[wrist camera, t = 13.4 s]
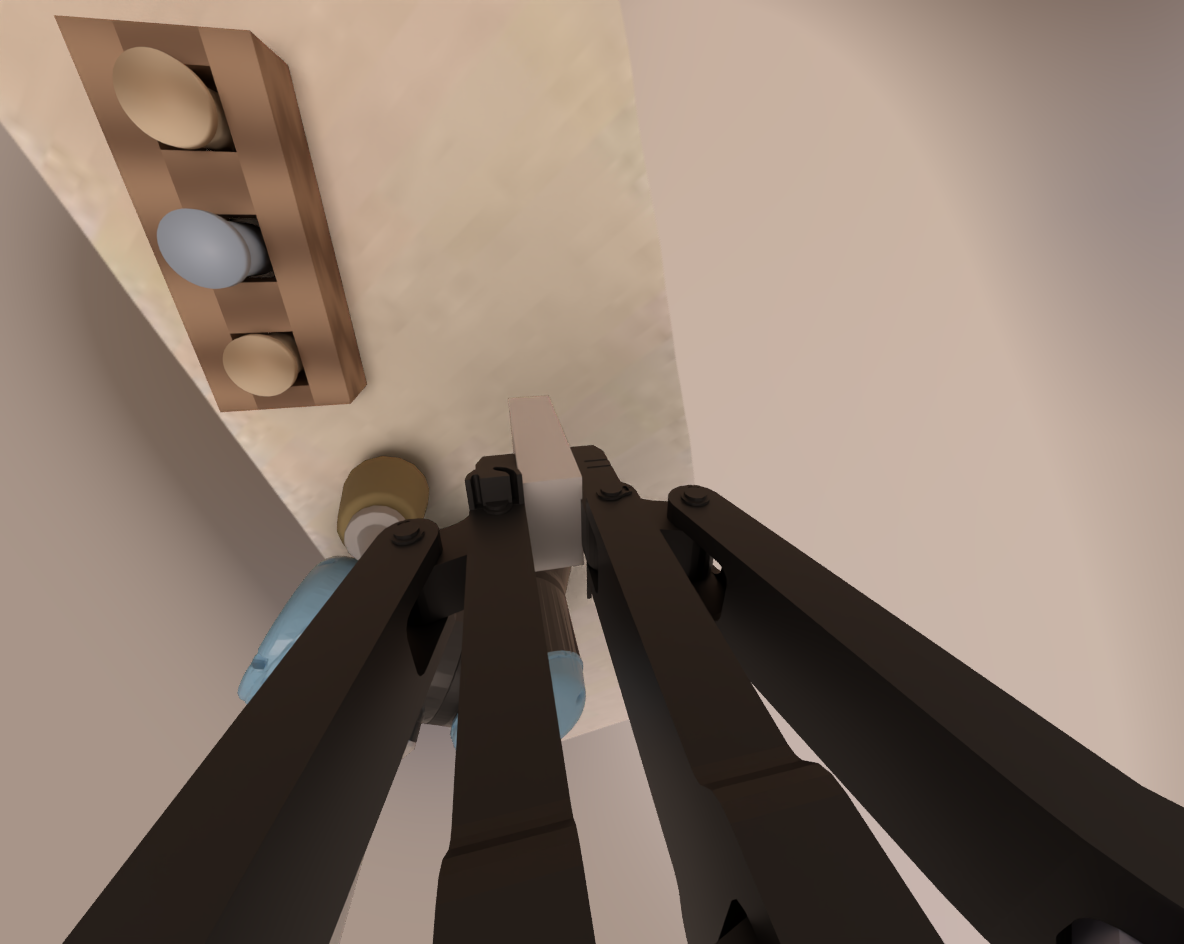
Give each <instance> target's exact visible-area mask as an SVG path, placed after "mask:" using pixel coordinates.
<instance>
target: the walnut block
mask: <svg viewBox="0 0 1184 944" xmlns="http://www.w3.org/2000/svg"><path fill="white" fill-rule="evenodd" d="M54 16H55V19H56V21H57V24H58V26H59V28H60V31H61V33H62V36H63V38H64V40H65V43H66V45H67V47H68V50H69V52H70V55H71V57H72V59H73V62H74V64H75V66H76V69H77V71H78V74H79V76H80V78H81V81H82V83H83V86H84V88H85V90H86V93H87V95H88V97H89V100H90V102H91V105H92V107H93V109H94V112H95V114H96V117H97V119H98V121H99V124H100V126H101V128H102V131H103V133H104V136H105V138H106V140H107V143H108V145H109V148H110V150H111V152H112V155H113V157H114V159H115V162H116V164H117V167H118V169H119V171H120V174H121V176H122V178H123V181H124V183H125V186H126V188H127V190H128V193H129V195H130V198H131V200H132V202H133V205H134V207H135V209H136V212H137V214H138V217H139V219H140V221H141V224H142V226H143V229H144V231H145V233H146V236H147V238H148V240H149V243H150V245H151V248H152V250H153V252H154V255H155V257H156V259H157V262H158V264H159V267H160V269H161V271H162V274H163V276H164V279H165V281H166V283H167V286H168V288H169V290H170V293H171V295H172V298H173V300H174V302H175V305H176V307H177V310H178V312H179V314H180V317H181V319H182V321H183V324H184V326H185V329H186V331H187V333H188V336H189V338H190V340H191V343H192V345H193V348H194V350H195V352H196V355H197V357H198V360H199V362H200V364H201V367H202V369H203V371H204V374H205V376H206V379H207V381H208V383H209V386H210V388H211V391H212V393H213V395H214V398H215V400H216V402H217V405H218V407H219V410H220V412H231V411H246V410H261V409H276V408H292V407H307V406H322V405H337V404H351V403H352V402H353V400H354V399H355V398H356V397H357V396H358V394H359V393H360V392H361V391H362V390H363V389H364V387H365V386H366V385H367V382H366V378H365V374H364V370H363V366H362V362H361V358H360V354H359V350H358V346H357V342H356V338H355V334H354V330H353V326H352V322H351V318H350V314H349V310H348V306H347V302H346V298H345V294H344V290H343V286H342V281H341V277H340V273H339V269H338V265H337V261H336V257H335V253H334V249H333V245H332V241H331V237H330V233H329V229H328V225H327V221H326V217H325V213H324V209H323V205H322V201H321V197H320V193H319V189H318V185H317V181H316V177H315V173H314V168H313V164H312V160H311V156H310V152H309V148H308V144H307V140H306V136H305V132H304V128H303V124H302V120H301V116H300V112H299V108H298V104H297V100H296V96H295V92H294V88H293V84H292V80H291V76H290V72H289V68H288V65H287V64H286V63H285V62H284V61H283V60H282V59H281V58H279V57H278V56H277V55H276V54H275V53H274V52H273V51H272V50H271V49H269V48H268V47H267V46H266V45H265V44H264V43H263V42H262V41H261V40H260V39H258V38H257V37H256V36H255V35H254V34H253V33H252V32H251V31H248V30H235V29H223V28H210V27H197V26H184V25H171V24H159V23H146V22H133V21H120V20H107V19H95V18H82V17H69V16H56V15H54ZM134 47H148V48H153V49H156V50H159V51H161V52H164V53H166V54H168V55H169V56H171V57H173V58H174V59H176V60H178V61H179V62H181V63H183V64H184V65H186V66H187V67H188V68H189V69H191V70H192V71H193V72H194V73H195V74H196V75H197V76H198V77H199V78H200V79H201V80H202V82H203V83H204V84H205V86H206V87H208V88H209V89H211V90H213V91H215V92H218V93H219V97H220V100H221V103H222V106H223V110H224V113H225V116H226V119H227V122H228V126H229V129H230V132H231V135H232V138H233V142H234V145H235V148H236V151H237V152H213V151H206V149H205V148H204V147H201V148H198V149H182V148H177V147H174V146H171V145H168V144H165V143H162V142H160V141H158V140H156V139H154V138H152V137H151V136H149V135H148V134H146V133H145V132H143V131H142V130H141V129H140V128H139V127H138V126H137V125H136V124H135V123H134V122H133V121H132V120H131V119H130V118H129V117H128V115H127V114H126V112H125V111H124V110H123V108H122V106H121V104H120V102H119V100H118V98H117V96H116V93H115V90H114V85H113V68H114V64H115V62H116V60H117V58H118V57H119V56H120V55H121V54H122V53H123V52H124V51H126V50H128V49H131V48H134ZM177 209H197V210H203V211H208V212H211V213H214V214H216V215H218V216H220V217H222V218H223V219H225V220H226V221H230V220H229V218H254V219H258V222H259V225H260V229H261V232H262V235H263V238H264V241H265V245H266V248H267V251H268V254H269V257H270V261H271V264H272V267H273V270H274V274H275V277H262V278H249V276H247V277H246V278H245V279H244V280H243V281H242V282H241V283H239V284H237V285H235V286H231V287H226V288H220V289H210V288H205V287H201V286H198V285H195V284H193V283H191V282H189V281H187V280H186V279H184V278H183V277H181V276H180V275H179V274H177V273H176V272H175V271H174V270H173V269H172V268H171V267H170V266H169V264H168V263H167V262H166V260H165V259H164V257H163V255H162V253H161V251H160V249H159V246H158V241H157V229H158V225H159V223H160V221H161V220H162V218H163V217H164V216H165V215H166V214H168V213H169V212H171V211H174V210H177ZM287 331H293V335H294V338H295V341H296V344H297V348H298V351H299V354H300V357H301V360H302V364H303V367H304V369H303V370H302V371H300V372H299V373H298V376H297V379H296V381H295V383H294V384H293V385H292V386H291V387H290V388H288V389H287V390H286V391H284V392H283V393H281V394H278V395H275V396H259V395H255V394H251V393H249V392H247V391H245V390H243V389H242V388H240V387H239V386H237V385H236V384H235V383H234V382H233V381H232V380H231V379H230V377H229V376H228V374H227V373H226V371H225V368H224V365H223V353H224V350H225V348H226V346H227V345H228V344H229V343H230V342H231V341H233V340H235V339H237V338H240V337H242V336H245V335H249V334H262V335H267V334H268V333H267V332H287Z"/></svg>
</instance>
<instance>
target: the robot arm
mask: <svg viewBox="0 0 1184 944" xmlns="http://www.w3.org/2000/svg"><path fill="white" fill-rule="evenodd" d="M508 402H509V412H510V422H511V432H512V442H513V453H514V454H505V455H495V456H484V457H482V458H481V459H480V460H479V462H478V463H477V464H476V469H475V470H473V471H472V472H471V473H469V474H468V475H467V476H466V478H465V485H466V491H467V498H468V504H469V510H470V511H469V516H468V517H467V518H466V519H464V520H463V521H461V522H459V523H457V524H455V525H452V526H450V527H446V528H443V529H440V530H439V528H438V526H437V524H436V523H434V522H433V521H431V520H428V519H421V518H417V519H406V520H404V521H399V522H396V523H394V524H392V525H390V526H389V527H387V528H385V529H384V530H383V531H382V532H381V533H380V534H378V536H377V537H376V538H375V539H374V541H373V542H372V543H371V545H370V546H369V547H368V549H367V550H366V551H365V552H364V554H363V555H362V556H361V558H360V559H359V560H357V559H355V558H351V557H347V556H333V557H330V558H327V559H325V560H323V561H322V562H320V563H319V564H317V565H316V566H315V567H314V568H313V569H312V570H311V571H310V573H309V574H308V575H307V576H306V577H305V579H304V580H303V581H302V582H301V584H300V585H299V587H298V588H297V589H296V591H295V592H294V593H293V595H292V596H291V598H290V599H289V601H288V602H287V604H286V605H285V607H284V608H283V610H282V611H281V613H280V614H279V616H278V617H277V619H276V620H275V622H274V623H273V625H272V627H271V628H270V630H269V632H268V633H267V635H266V636H265V638H264V640H263V642H262V643H261V645H260V647H259V649H258V653H257V655H255V657H254V659H253V661H252V663H251V665H250V666H249V667H248V669H247V670H246V672H245V674H244V676H243V678H242V680H241V683H240V685H239V688H238V696H239V698H240V699H241V700H243V701H245V703H246V704H247V705H246V707H245V708H244V709H243V710H242V712H241V713H240V714H239V716H238V717H237V718H236V719H235V721H234V722H233V723H232V725H231V726H230V727H229V728H228V730H227V731H226V732H225V734H224V735H223V737H222V738H221V739H220V740H219V741H218V743H217V744H216V745H215V747H214V748H213V749H212V750H211V752H210V753H209V754H208V756H207V757H206V758H205V760H204V761H203V762H202V763H201V765H200V766H199V767H198V769H197V770H196V771H195V773H194V774H193V775H192V776H191V778H190V779H189V780H188V782H187V783H186V784H185V785H184V787H183V788H182V789H181V791H180V792H179V793H178V795H177V796H176V797H175V798H174V800H173V801H172V802H171V804H170V805H169V806H168V807H167V809H166V810H165V811H164V813H163V814H162V815H161V817H160V818H159V819H158V820H157V822H156V823H155V824H154V826H153V827H152V828H151V830H150V831H149V832H148V833H147V835H146V836H145V837H144V838H143V840H142V841H141V842H140V844H139V845H138V846H137V848H136V849H135V850H134V851H133V853H132V854H131V855H130V857H129V858H128V860H127V861H126V862H125V863H124V864H123V866H122V867H121V868H120V870H119V871H118V872H117V873H116V875H115V876H114V877H113V879H112V880H111V881H110V882H109V884H108V885H107V886H106V888H105V889H104V890H103V892H102V893H101V894H100V895H99V897H98V898H97V899H96V901H95V902H94V903H93V904H92V906H91V907H90V908H89V910H88V911H87V912H86V914H85V915H84V916H83V917H82V919H81V920H80V921H79V923H78V924H77V925H76V926H75V928H74V929H73V930H72V932H71V933H70V934H69V936H68V937H67V938H66V939H65V941H64V942H63V944H340V940H341V937H342V933H343V929H344V925H345V922H346V919H347V915H348V911H349V908H350V904H351V900H352V897H353V893H354V890H355V886H356V883H357V879H358V875H359V872H360V868H361V865H362V861H363V857H364V854H365V851H366V849H367V846H368V843H369V840H370V838H371V836H372V833H373V831H374V828H375V826H376V823H377V820H378V818H379V815H380V812H381V810H382V808H383V805H384V803H385V800H386V798H387V795H388V792H389V790H390V787H391V785H392V782H393V780H394V777H395V774H396V772H397V769H398V767H399V764H400V762H401V760H402V759H403V758H404V757H405V756H407V755H408V754H409V753H410V752H411V751H412V750H414V749H415V746H416V742H417V737H418V734H419V730H420V726H421V724H422V723H424V724H432V725H440V726H446V727H451V733H450V734H451V739H452V742H453V744H454V747H455V749H456V760H455V776H454V794H453V813H452V829H451V840H450V845H449V850H448V852H447V853H446V855H445V856H444V858H443V860H442V864H441V869H440V873H439V879H438V888H437V897H436V908H435V921H434V935H433V944H596V943H595V936H594V930H593V924H592V918H591V912H590V905H589V899H588V892H587V886H586V880H585V873H584V867H583V861H582V855H581V849H580V843H579V838H578V833H577V828H576V824H575V821H574V818H573V814H572V808H571V802H570V796H569V789H568V783H567V776H566V770H565V763H564V757H563V750H562V744H561V739H562V738H563V737H564V736H565V735H566V734H567V733H568V732H569V731H570V730H571V729H572V728H573V727H574V725H575V724H576V722H577V721H578V719H579V718H580V716H581V714H582V711H583V708H584V705H585V699H586V691H585V684H584V677H583V662H582V660H581V658H580V654H579V650H578V646H577V642H576V638H575V634H574V630H573V626H572V622H571V618H570V613H569V609H568V605H567V601H566V597H565V594H566V589H567V584H568V580H569V575H570V570H571V566H577V565H584V558H583V551H584V554H585V557H586V560H587V599H590V598H591V595H593V599H594V602H595V606H596V609H597V612H598V616H599V619H600V622H601V626H602V629H603V632H604V636H605V639H606V643H607V646H608V649H609V653H610V656H611V659H612V663H613V666H614V669H615V673H616V676H617V680H618V683H619V686H620V690H621V693H622V696H623V700H624V703H625V706H626V710H627V713H628V717H629V720H630V723H631V726H632V730H633V733H634V737H635V740H636V743H637V746H638V750H639V753H640V757H641V760H642V764H643V767H644V770H645V774H646V777H647V780H648V784H649V787H650V790H651V793H652V797H653V800H654V804H655V807H656V811H657V814H658V817H659V821H660V824H661V827H662V831H663V834H664V838H665V841H666V844H667V848H668V851H669V854H670V858H671V861H672V864H673V868H674V871H675V875H676V879H677V884H678V889H679V895H680V902H681V910H682V918H683V923H684V928H685V932H686V938H687V941H688V944H944V943H943V941H942V939H941V938H940V936H939V935H938V933H937V932H936V930H935V929H934V927H933V925H932V924H931V922H930V921H929V919H928V918H927V916H926V915H925V913H924V911H923V910H922V908H921V907H920V905H919V904H918V902H917V901H916V899H915V898H914V896H913V895H912V893H911V892H910V890H909V888H908V887H907V886H906V884H905V882H904V881H903V879H902V878H901V876H900V875H899V873H898V872H897V870H896V869H895V867H894V865H893V864H892V862H891V861H890V859H889V858H888V856H887V855H886V853H885V852H884V850H883V849H882V847H881V846H880V844H879V842H878V841H877V839H876V838H875V836H874V835H873V833H872V832H871V830H870V829H869V827H868V826H867V824H866V822H865V821H864V819H863V818H862V817H861V815H860V813H859V812H858V811H857V809H856V807H855V806H854V804H853V803H852V801H851V799H850V798H849V796H848V795H847V793H846V792H845V791H844V789H843V788H842V787H841V785H840V784H839V783H838V782H837V780H836V779H835V778H834V776H833V775H832V774H831V773H830V772H829V771H827V770H826V769H825V768H824V767H822V766H821V765H820V764H819V763H815V762H809V761H804V760H801V759H800V758H799V757H798V756H796V755H795V754H794V752H793V751H792V749H791V748H790V747H789V745H788V744H787V742H786V741H785V739H784V737H783V735H782V734H781V732H780V730H779V729H778V727H777V726H776V724H775V722H774V720H773V719H772V717H771V715H770V714H769V712H768V710H767V709H766V707H765V706H764V704H763V702H762V700H761V699H760V697H759V695H758V694H757V692H756V690H755V689H754V687H753V685H754V686H755V687H756V688H757V689H758V691H759V692H760V693H761V694H762V695H763V696H764V697H765V698H766V699H767V700H768V702H769V703H770V704H771V705H772V706H773V707H774V708H775V709H776V710H777V712H778V713H779V714H780V715H781V716H782V717H783V718H784V719H785V720H786V721H787V723H788V724H789V725H790V726H791V727H792V728H793V729H794V730H795V731H796V733H797V734H798V735H799V736H800V737H801V738H802V739H803V740H804V741H805V743H806V744H807V745H808V746H809V747H810V748H811V749H812V750H813V751H814V752H815V754H816V755H817V756H818V757H819V758H820V759H821V760H822V761H823V762H824V764H825V765H826V766H827V767H828V768H829V769H830V770H831V771H832V772H833V774H834V775H835V776H836V777H837V778H838V779H839V780H840V781H841V782H842V783H843V785H844V786H845V787H846V788H847V789H848V790H849V791H850V792H851V794H852V795H853V796H854V797H855V798H856V799H857V800H858V801H859V802H860V804H861V805H862V806H863V807H864V808H865V809H866V810H867V811H868V812H869V813H870V815H871V816H872V817H873V818H874V819H875V820H876V821H877V822H878V823H879V824H880V826H881V827H882V828H883V829H884V830H885V831H886V832H887V833H888V835H889V836H890V837H891V838H892V839H893V840H894V841H895V842H896V843H897V844H898V846H899V847H900V848H901V849H902V850H903V851H904V852H905V853H906V854H907V856H908V857H909V858H910V859H911V860H912V861H913V862H914V863H915V864H916V866H917V867H918V868H919V869H920V870H921V871H922V872H923V873H924V874H925V875H926V877H927V878H928V879H929V880H930V881H931V882H932V883H933V884H934V885H935V887H936V888H937V889H938V890H939V891H940V892H941V893H942V894H943V895H944V896H945V897H946V898H947V899H948V901H949V902H950V903H951V904H952V905H953V906H954V907H955V908H956V909H957V910H958V911H959V912H960V913H961V914H962V915H963V916H964V917H965V918H966V919H967V920H968V921H969V922H970V924H971V925H972V926H973V927H974V928H975V929H976V930H977V931H978V932H979V933H980V934H981V935H982V936H983V937H984V938H985V939H986V940H987V941H988V942H989V943H990V944H1184V807H1182V806H1180V805H1178V804H1176V803H1174V802H1172V801H1170V800H1168V799H1166V798H1164V797H1162V796H1160V795H1158V794H1157V793H1155V792H1152V791H1151V790H1148V789H1147V788H1145V787H1143V786H1141V785H1140V784H1138V783H1137V782H1135V781H1134V780H1132V779H1131V778H1130V777H1128V776H1127V775H1125V774H1124V773H1122V772H1121V771H1119V770H1118V769H1116V768H1115V767H1114V766H1112V765H1110V764H1109V763H1108V762H1106V761H1105V760H1103V759H1102V758H1101V757H1099V756H1098V755H1096V754H1095V753H1093V752H1092V751H1090V750H1089V749H1087V748H1086V747H1085V746H1083V745H1082V744H1080V743H1079V742H1077V741H1076V740H1074V739H1073V738H1072V737H1070V736H1069V735H1067V734H1066V733H1064V732H1063V731H1061V730H1060V729H1058V728H1057V727H1056V726H1054V725H1053V724H1051V723H1050V722H1048V721H1047V720H1045V719H1044V718H1042V717H1041V716H1040V715H1038V714H1037V713H1035V712H1034V711H1032V710H1031V709H1029V708H1028V707H1027V706H1025V705H1024V704H1022V703H1021V702H1019V701H1018V700H1016V699H1015V698H1014V697H1012V696H1011V695H1009V694H1008V693H1006V692H1005V691H1003V690H1002V689H1000V688H999V687H998V686H996V685H995V684H993V683H992V682H990V681H989V680H987V679H986V678H985V677H983V676H982V675H980V674H978V673H977V672H976V671H974V670H973V669H971V668H970V667H969V666H967V665H966V664H964V663H963V662H961V661H960V660H958V659H957V658H955V657H954V656H953V655H951V654H950V653H948V652H947V651H945V650H944V649H942V648H941V647H940V646H938V645H937V644H935V643H934V642H932V641H931V640H929V639H928V638H927V637H925V636H924V635H922V634H921V633H919V632H918V631H916V630H915V629H913V628H912V627H911V626H909V625H908V624H906V623H905V622H903V621H902V620H900V619H899V618H898V617H896V616H895V615H893V614H892V613H890V612H889V611H887V610H886V609H884V608H883V607H881V606H880V605H879V604H877V603H876V602H874V601H873V600H871V599H870V598H868V597H867V596H866V595H864V594H863V593H861V592H859V591H858V590H857V589H855V588H854V587H852V586H851V585H850V584H848V583H847V582H845V581H844V580H842V579H841V578H839V577H838V576H836V575H835V574H833V573H832V572H831V571H829V570H828V569H826V568H825V567H823V566H822V565H821V564H819V563H818V562H816V561H815V560H813V559H812V558H810V557H809V556H808V555H806V554H805V553H803V552H802V551H800V550H799V549H797V548H796V547H795V546H793V545H792V544H790V543H789V542H787V541H786V540H784V539H783V538H781V537H780V536H779V535H777V534H776V533H774V532H773V531H771V530H770V529H768V528H767V527H766V526H764V525H763V524H761V523H759V522H758V521H757V520H755V519H754V518H752V517H751V516H750V515H748V514H747V513H745V512H744V511H742V510H741V509H739V508H738V507H736V506H735V505H734V504H732V503H731V502H729V501H728V500H726V499H725V498H723V497H722V496H720V495H719V494H718V493H716V492H714V491H712V490H710V489H708V488H704V487H701V486H698V485H694V486H693V485H686V486H679V487H677V488H675V489H672V490H671V492H670V493H669V494H668V502H667V501H652V500H645V499H641V498H640V496H639V495H638V493H637V491H636V490H635V489H634V488H633V487H632V486H630V485H628V484H626V483H623V482H620V480H619V478H618V477H617V475H616V473H615V471H614V469H613V468H612V466H611V464H610V462H609V461H608V460H607V457H606V455H605V453H604V452H603V451H602V450H601V449H599V448H597V447H596V446H594V445H588V446H578V447H570V446H569V444H568V441H567V439H566V437H565V434H564V432H563V429H562V427H561V424H560V422H559V419H558V417H557V415H556V412H555V410H554V407H553V405H552V402H551V400H550V397H549V395H546V396H532V397H518V398H508ZM713 558H714V559H715V560H716V561H717V562H718V563H719V564H720V565H721V567H722V569H721V571H720V570H718V569H717V568H716V567H715V566H714V565H712V564H713ZM751 683H752V684H753V685H752V684H751Z"/></svg>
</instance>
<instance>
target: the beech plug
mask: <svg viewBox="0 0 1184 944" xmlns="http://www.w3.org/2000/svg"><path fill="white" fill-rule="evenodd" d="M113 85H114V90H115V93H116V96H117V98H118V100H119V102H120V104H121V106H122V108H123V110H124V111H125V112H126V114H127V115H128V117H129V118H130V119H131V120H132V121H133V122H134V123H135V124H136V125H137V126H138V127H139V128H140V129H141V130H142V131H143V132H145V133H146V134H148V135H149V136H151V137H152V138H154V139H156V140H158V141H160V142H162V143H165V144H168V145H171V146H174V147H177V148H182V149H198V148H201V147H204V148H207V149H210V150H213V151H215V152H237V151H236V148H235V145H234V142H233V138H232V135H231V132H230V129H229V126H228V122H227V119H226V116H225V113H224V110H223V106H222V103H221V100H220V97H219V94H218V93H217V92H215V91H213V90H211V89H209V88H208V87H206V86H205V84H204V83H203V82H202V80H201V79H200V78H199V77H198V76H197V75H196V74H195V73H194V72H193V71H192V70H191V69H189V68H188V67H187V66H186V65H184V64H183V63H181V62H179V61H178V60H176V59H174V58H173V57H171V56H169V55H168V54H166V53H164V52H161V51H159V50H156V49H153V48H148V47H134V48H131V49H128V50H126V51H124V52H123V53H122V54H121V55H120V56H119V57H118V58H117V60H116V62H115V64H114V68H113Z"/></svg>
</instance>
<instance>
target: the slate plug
mask: <svg viewBox="0 0 1184 944" xmlns="http://www.w3.org/2000/svg"><path fill="white" fill-rule="evenodd" d="M157 241H158V246H159V249H160V251H161V253H162V255H163V257H164V259H165V260H166V262H167V263H168V264H169V266H170V267H171V268H172V269H173V270H174V271H175V272H176V273H177V274H179V275H180V276H181V277H183V278H184V279H186V280H187V281H189V282H191V283H193V284H195V285H198V286H201V287H205V288H210V289H220V288H226V287H231V286H235V285H237V284H239V283H241V282H242V281H243V280H244V279H245V278H246V277H247V276H253V275H260V274H266V273H269V272H271V271H272V270H273V267H272V264H271V261H270V257H269V254H268V251H267V248H266V245H265V241H264V238H263V235H262V232H261V229H260V227H258V226H256V225H254V224H250V223H243V222H232V221H226V220H225V219H223V218H222V217H220V216H218V215H216V214H214V213H211V212H208V211H203V210H197V209H177V210H174V211H171V212H169V213H168V214H166V215H165V216H164V217H163V218H162V220H161V221H160V223H159V225H158V229H157Z"/></svg>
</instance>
